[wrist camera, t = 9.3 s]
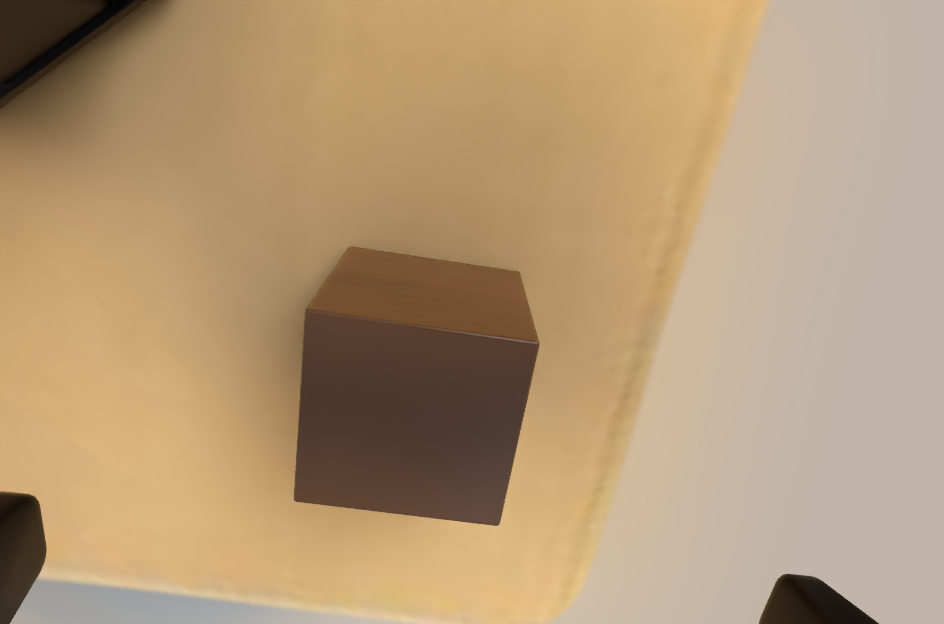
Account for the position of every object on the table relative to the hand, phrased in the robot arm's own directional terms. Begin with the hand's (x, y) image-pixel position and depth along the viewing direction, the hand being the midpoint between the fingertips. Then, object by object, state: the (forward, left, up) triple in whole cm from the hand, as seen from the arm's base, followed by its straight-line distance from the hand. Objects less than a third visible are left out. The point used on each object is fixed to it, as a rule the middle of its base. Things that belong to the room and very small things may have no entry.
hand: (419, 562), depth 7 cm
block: (-1, +1, -9) cm, 9 cm away
